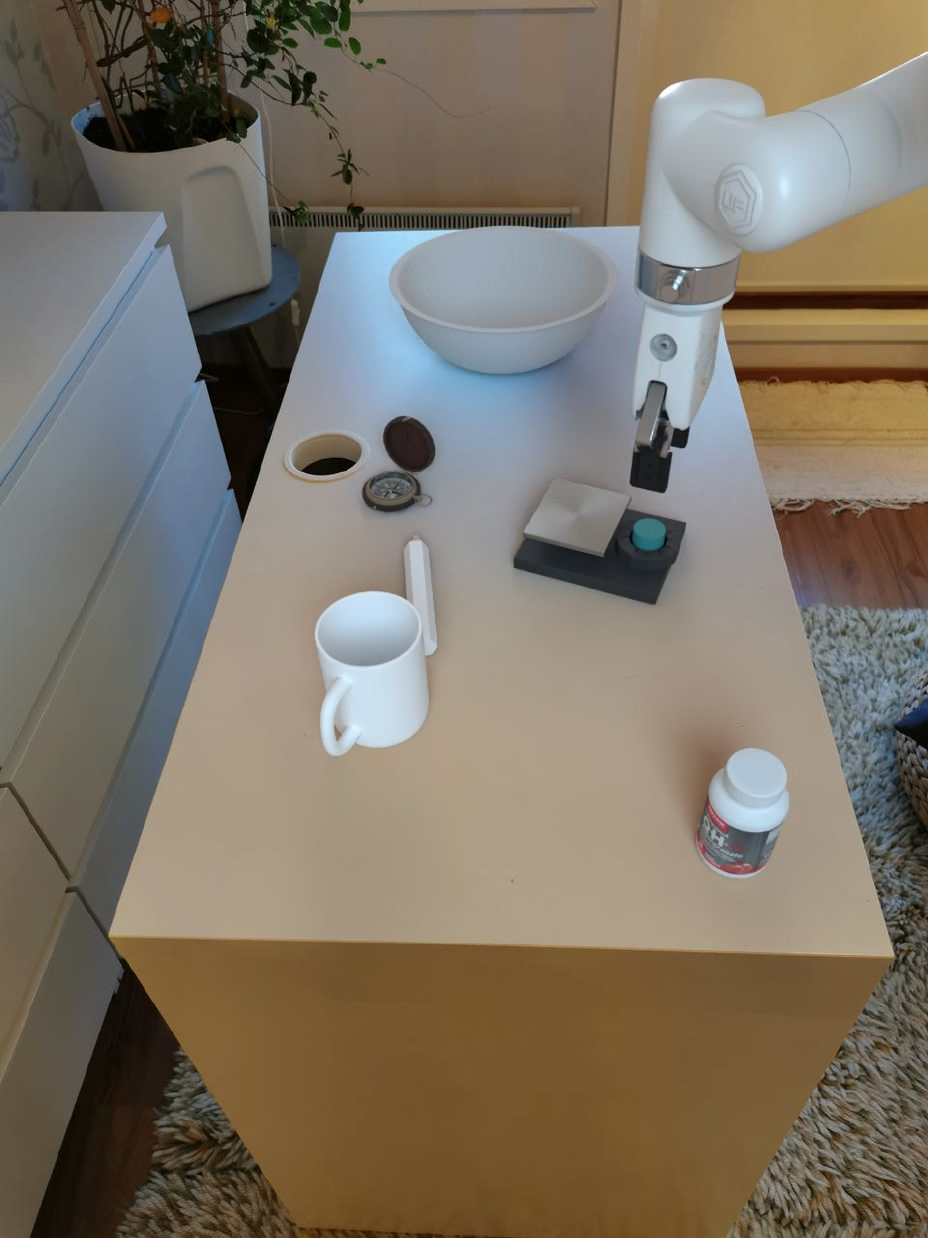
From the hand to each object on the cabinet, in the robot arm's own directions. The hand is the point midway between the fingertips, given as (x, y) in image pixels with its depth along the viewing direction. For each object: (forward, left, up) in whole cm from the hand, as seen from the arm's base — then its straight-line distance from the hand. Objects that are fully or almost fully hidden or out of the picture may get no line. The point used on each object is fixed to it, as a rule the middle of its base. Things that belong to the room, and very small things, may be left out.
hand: (658, 463), depth 84 cm
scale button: (0, 0, -9) cm, 9 cm away
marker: (+18, +12, -12) cm, 25 cm away
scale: (+4, 0, -12) cm, 12 cm away
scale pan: (+7, 0, -8) cm, 11 cm away
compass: (+26, -1, -12) cm, 29 cm away
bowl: (+27, -32, -12) cm, 44 cm away
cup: (+15, +28, -12) cm, 34 cm away
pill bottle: (-15, +28, -12) cm, 34 cm away
